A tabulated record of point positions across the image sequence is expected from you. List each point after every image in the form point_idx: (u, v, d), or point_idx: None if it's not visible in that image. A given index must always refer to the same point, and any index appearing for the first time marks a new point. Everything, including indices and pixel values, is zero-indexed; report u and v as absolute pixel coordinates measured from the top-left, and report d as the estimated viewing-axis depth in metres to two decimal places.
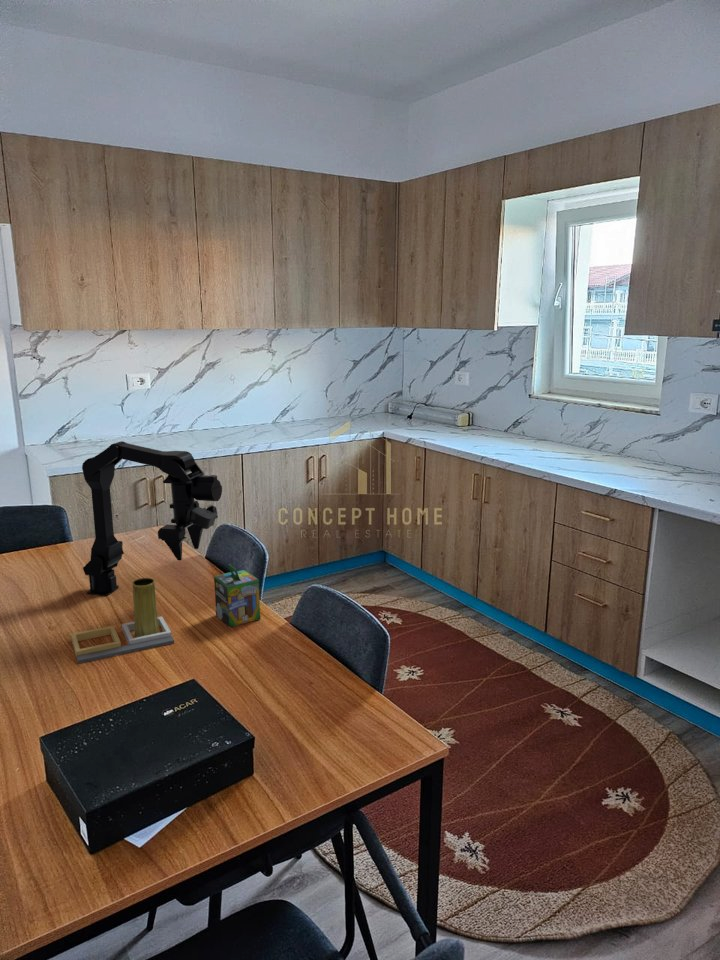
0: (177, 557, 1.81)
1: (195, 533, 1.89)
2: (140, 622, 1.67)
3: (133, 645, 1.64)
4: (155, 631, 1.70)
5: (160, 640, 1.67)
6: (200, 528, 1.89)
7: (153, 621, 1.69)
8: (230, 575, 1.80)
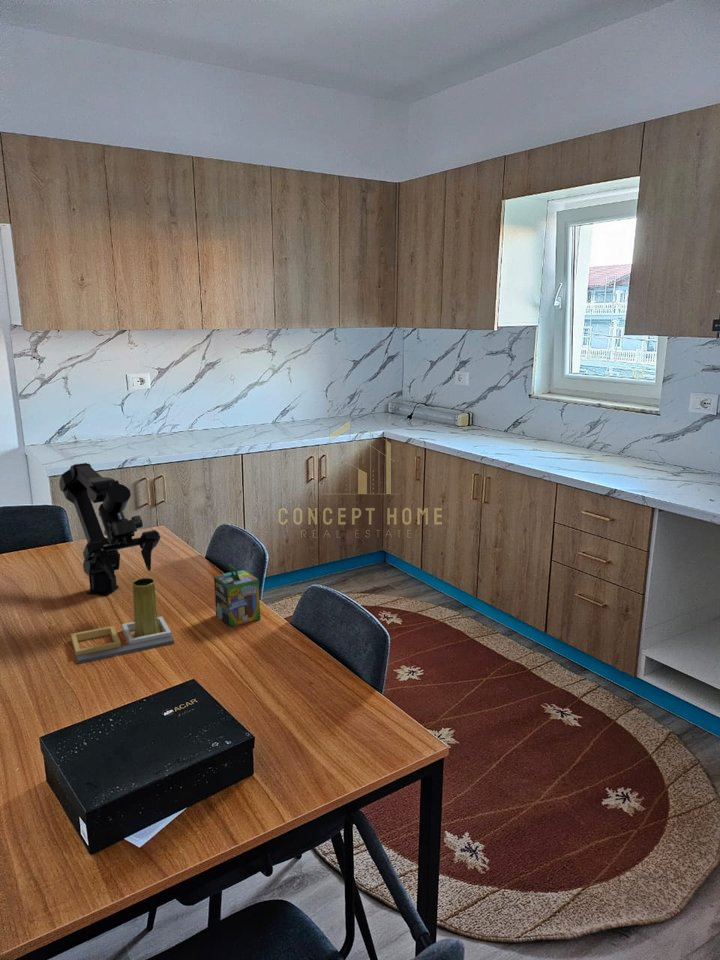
0: (111, 575, 1.72)
1: (145, 555, 1.79)
2: (140, 622, 1.67)
3: (133, 645, 1.64)
4: (155, 631, 1.70)
5: (160, 640, 1.67)
6: (145, 547, 1.79)
7: (153, 621, 1.69)
8: (230, 575, 1.80)
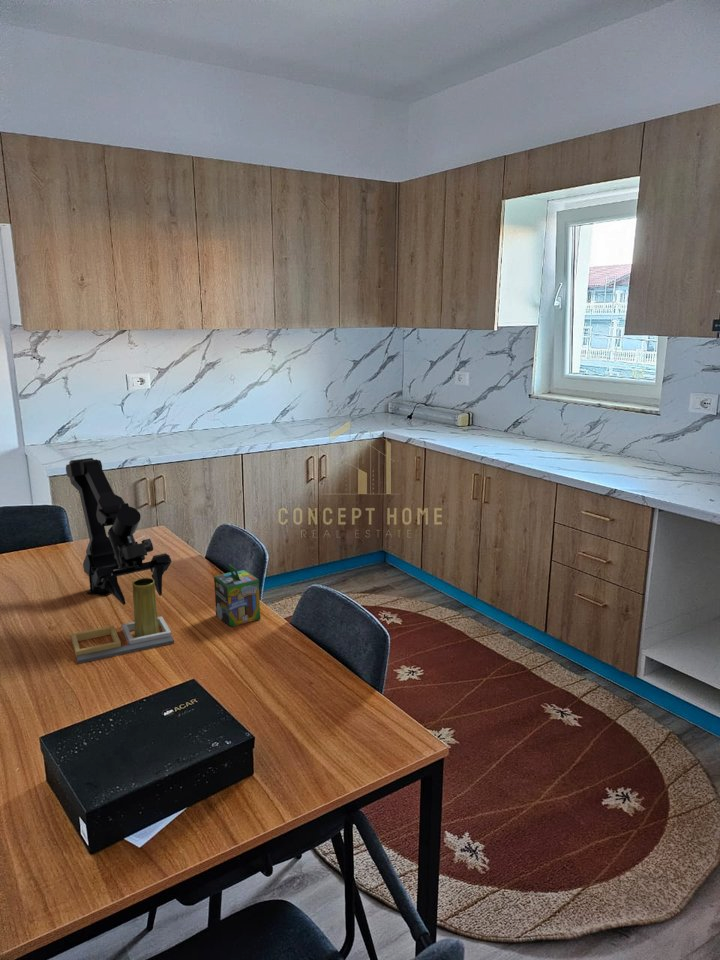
0: (121, 601, 1.67)
1: (155, 579, 1.74)
2: (140, 622, 1.67)
3: (133, 645, 1.64)
4: (155, 631, 1.70)
5: (160, 640, 1.67)
6: (156, 571, 1.74)
7: (153, 621, 1.69)
8: (230, 575, 1.80)
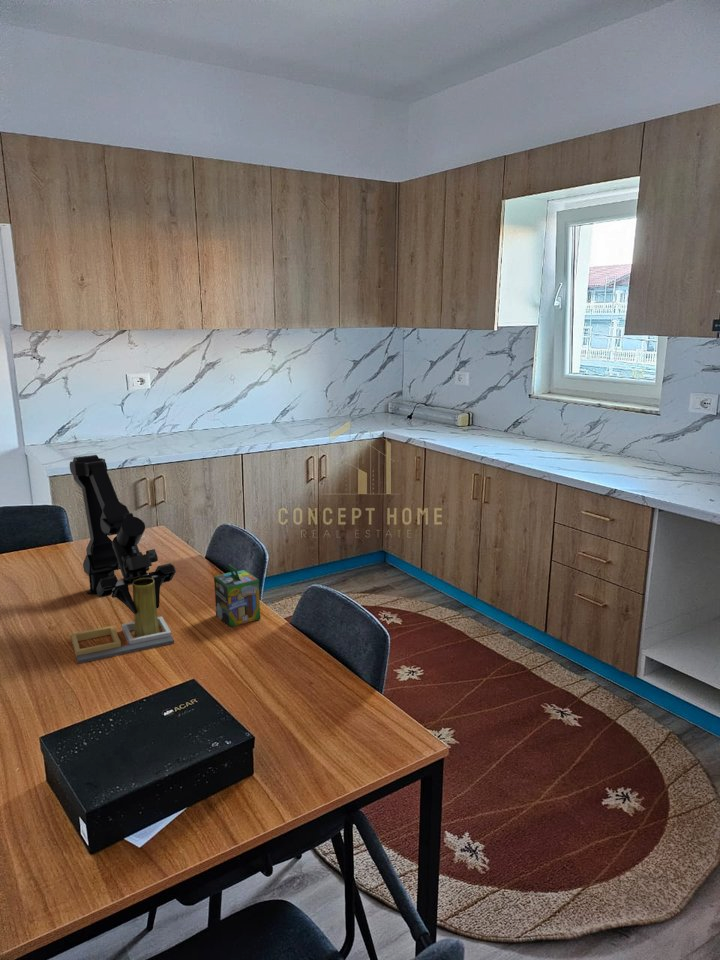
0: (132, 610, 1.67)
1: None
2: (140, 622, 1.67)
3: (133, 645, 1.64)
4: (155, 631, 1.70)
5: (160, 640, 1.67)
6: None
7: (153, 621, 1.69)
8: (230, 575, 1.80)
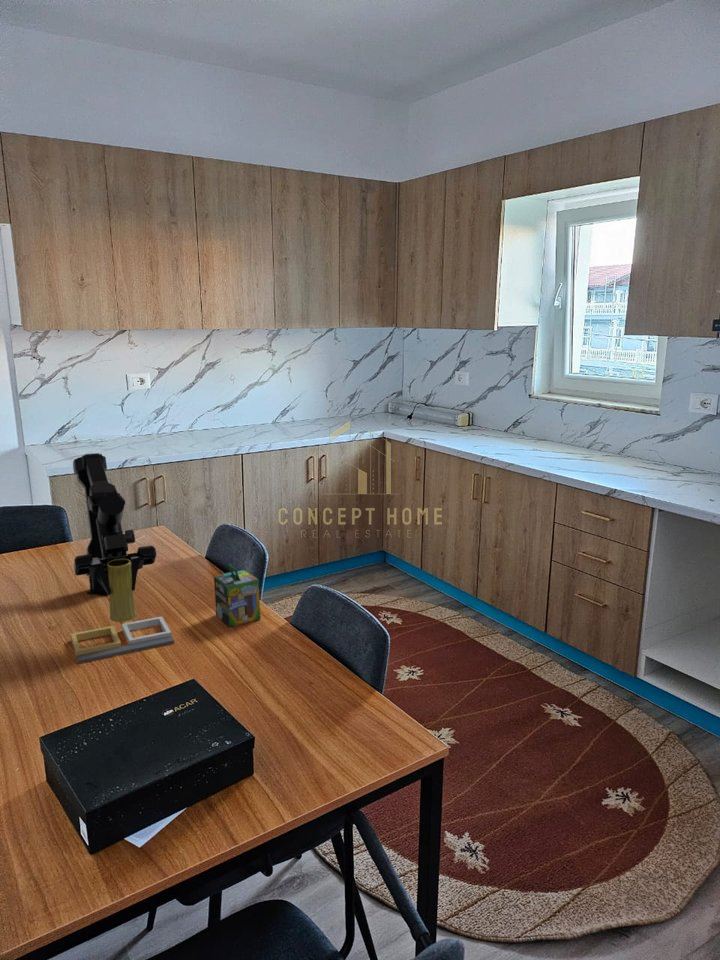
0: (106, 591, 1.63)
1: (131, 573, 1.67)
2: (114, 604, 1.63)
3: (133, 645, 1.64)
4: (130, 614, 1.65)
5: (160, 640, 1.67)
6: (131, 565, 1.67)
7: (127, 603, 1.64)
8: (230, 575, 1.80)
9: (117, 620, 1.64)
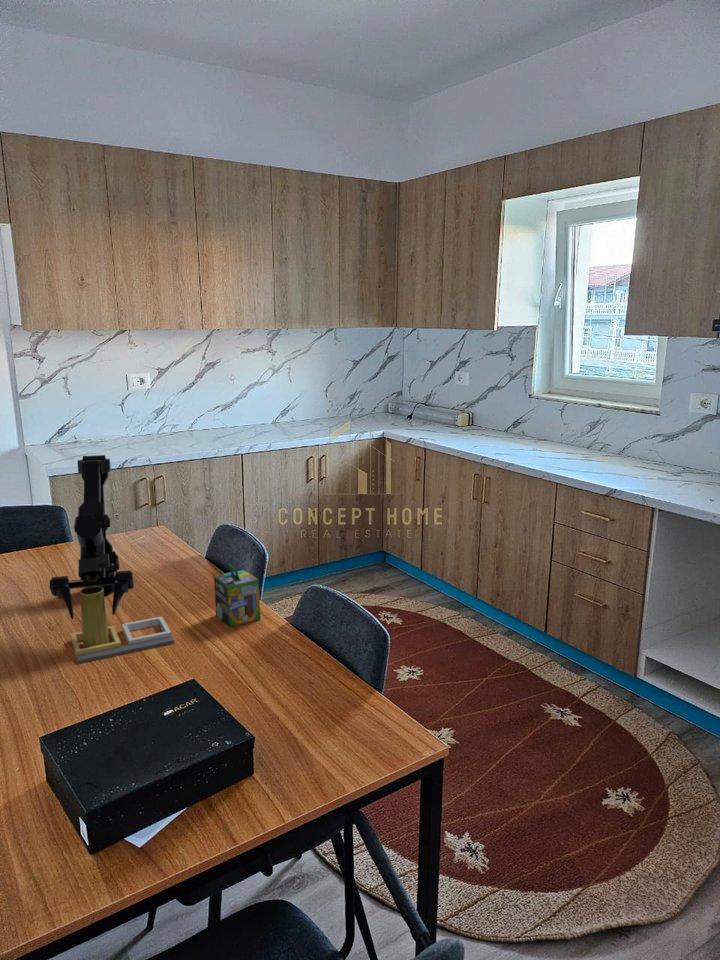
0: (70, 615, 1.62)
1: None
2: (85, 631, 1.62)
3: (133, 645, 1.64)
4: (101, 643, 1.64)
5: (160, 640, 1.67)
6: (114, 588, 1.65)
7: (98, 632, 1.63)
8: (230, 575, 1.80)
9: None
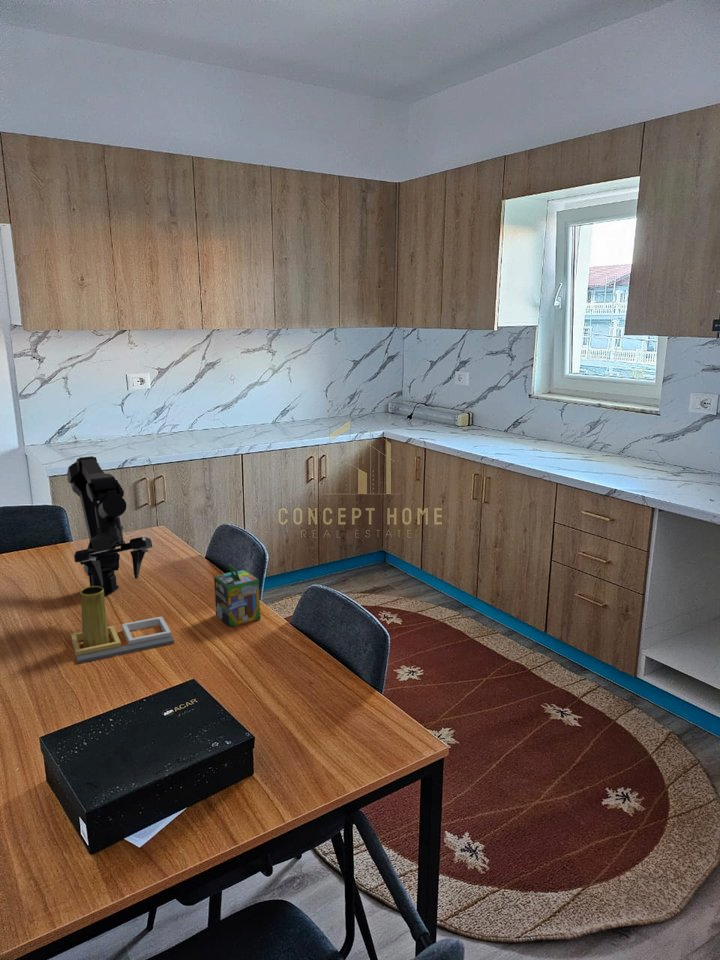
0: None
1: None
2: (85, 631, 1.62)
3: (133, 645, 1.64)
4: (101, 643, 1.64)
5: (160, 640, 1.67)
6: None
7: (98, 632, 1.63)
8: (230, 575, 1.80)
9: None
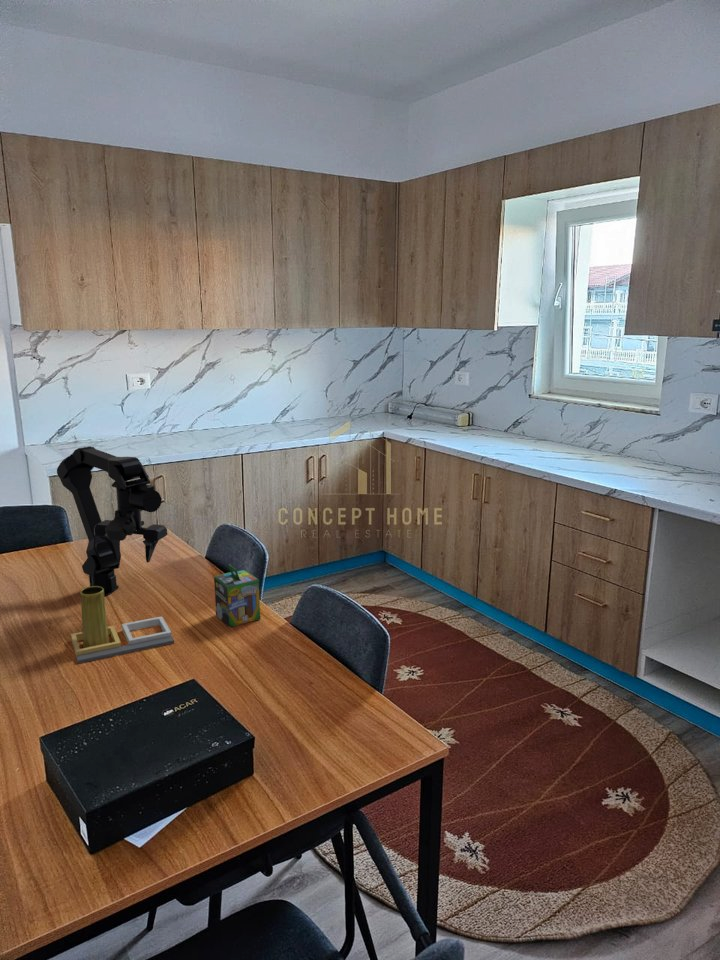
0: None
1: None
2: (85, 631, 1.62)
3: (133, 645, 1.64)
4: (101, 643, 1.64)
5: (160, 640, 1.67)
6: None
7: (98, 632, 1.63)
8: (230, 575, 1.80)
9: None
